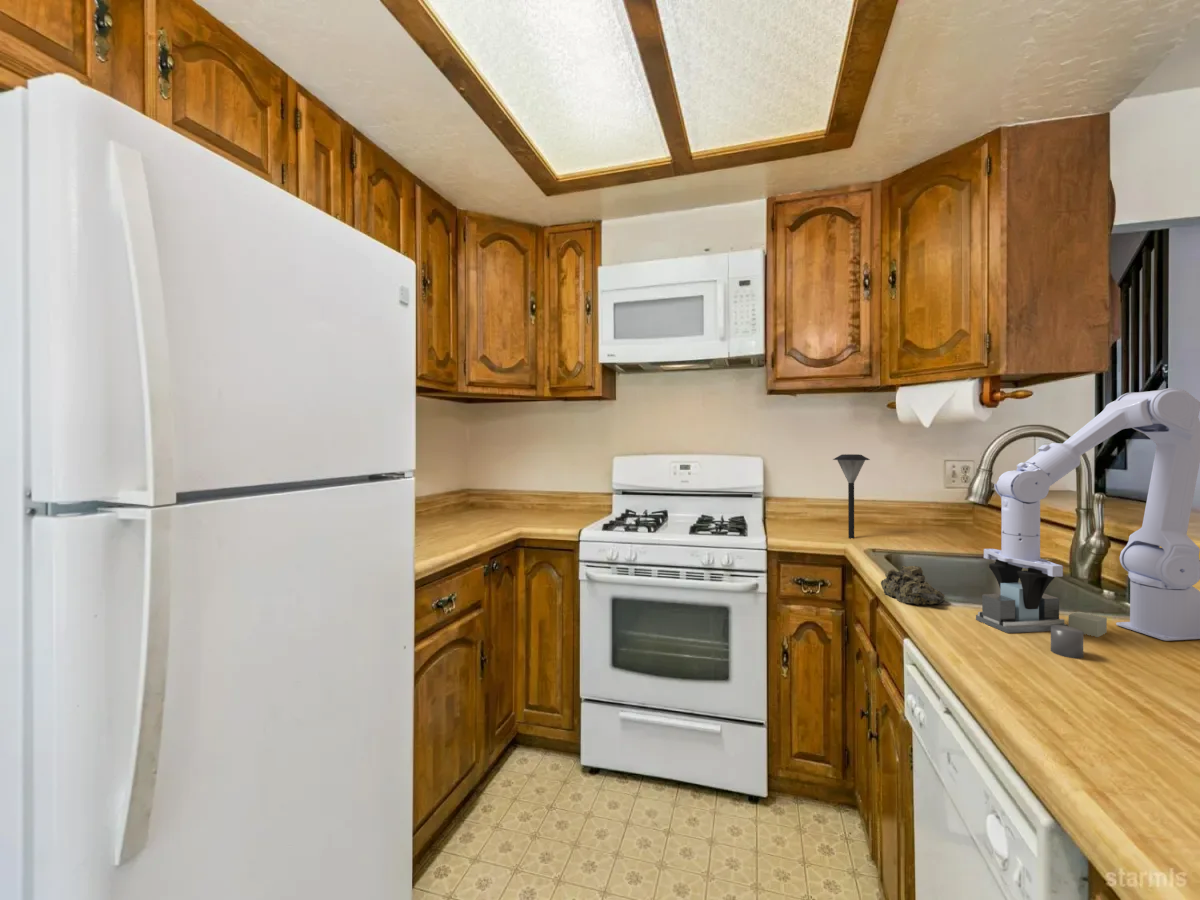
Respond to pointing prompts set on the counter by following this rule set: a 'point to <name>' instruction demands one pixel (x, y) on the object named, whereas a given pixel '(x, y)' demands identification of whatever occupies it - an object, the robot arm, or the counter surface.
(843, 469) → the solar garden light
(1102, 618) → the block
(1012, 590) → the block
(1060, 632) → the grey rounded cylinder
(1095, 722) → the counter surface
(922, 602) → the rock
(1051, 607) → the rail base
